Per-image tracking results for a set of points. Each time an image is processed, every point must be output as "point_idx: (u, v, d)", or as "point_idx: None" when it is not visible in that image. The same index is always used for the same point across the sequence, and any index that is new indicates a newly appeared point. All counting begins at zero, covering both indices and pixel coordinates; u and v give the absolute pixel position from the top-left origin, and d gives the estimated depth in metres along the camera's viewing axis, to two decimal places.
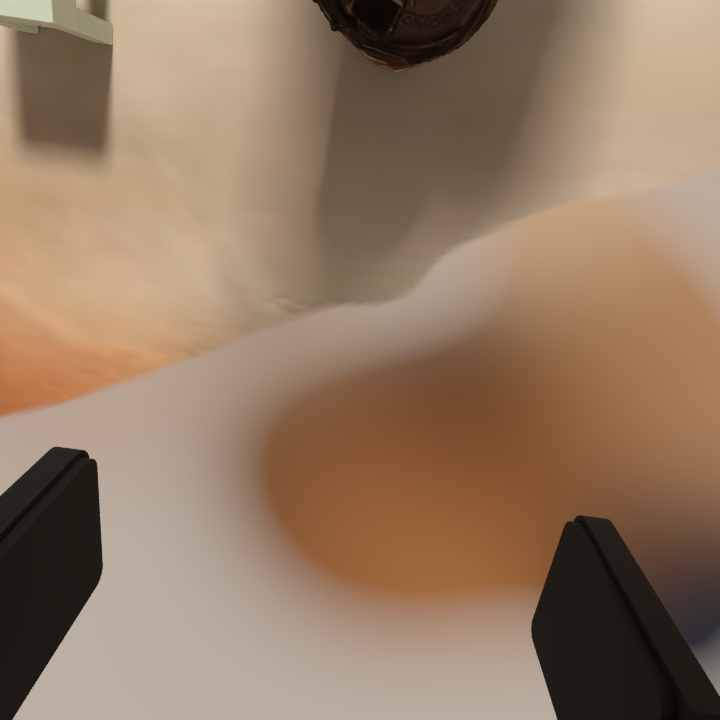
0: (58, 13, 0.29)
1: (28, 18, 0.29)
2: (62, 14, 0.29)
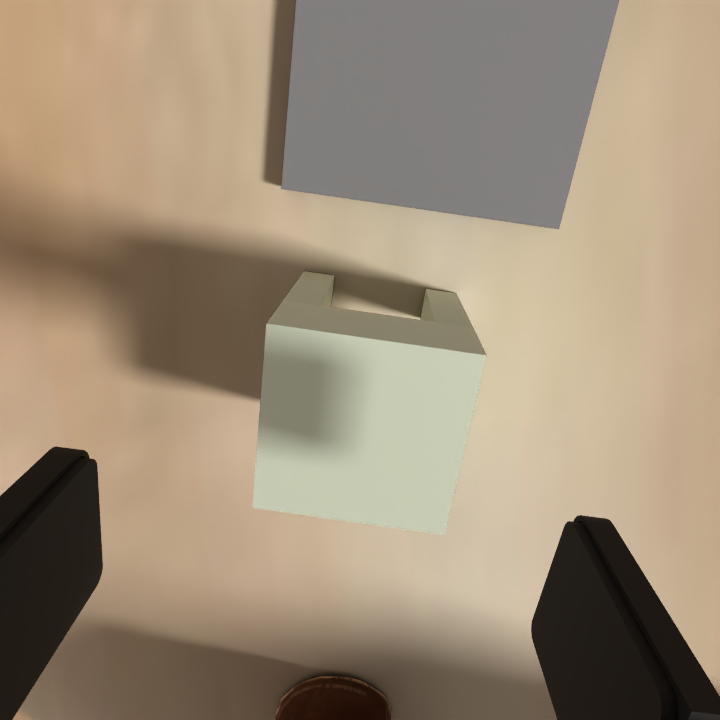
0: None
1: (256, 470, 0.16)
2: None
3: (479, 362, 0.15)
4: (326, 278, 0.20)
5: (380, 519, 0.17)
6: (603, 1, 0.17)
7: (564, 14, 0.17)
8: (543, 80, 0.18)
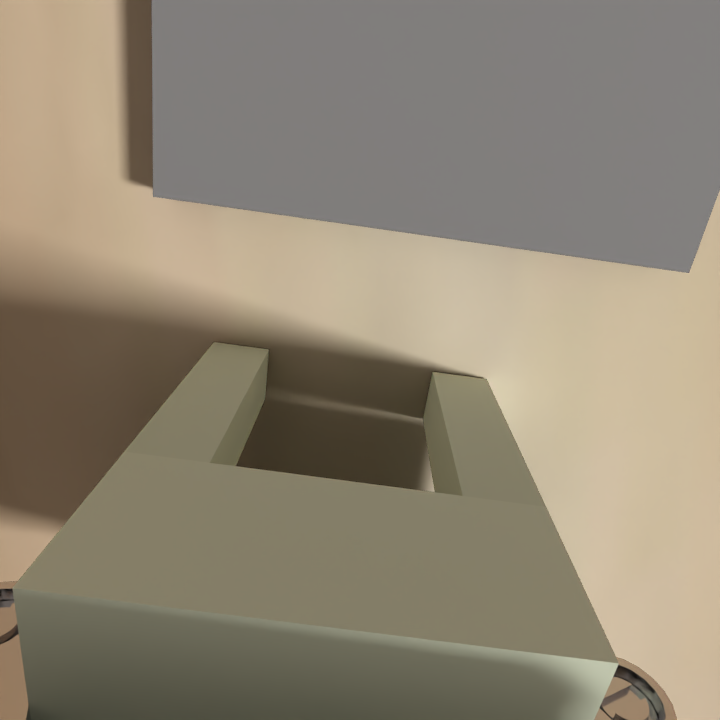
0: None
1: None
2: None
3: (596, 675, 0.06)
4: (251, 359, 0.11)
5: None
6: None
7: None
8: None
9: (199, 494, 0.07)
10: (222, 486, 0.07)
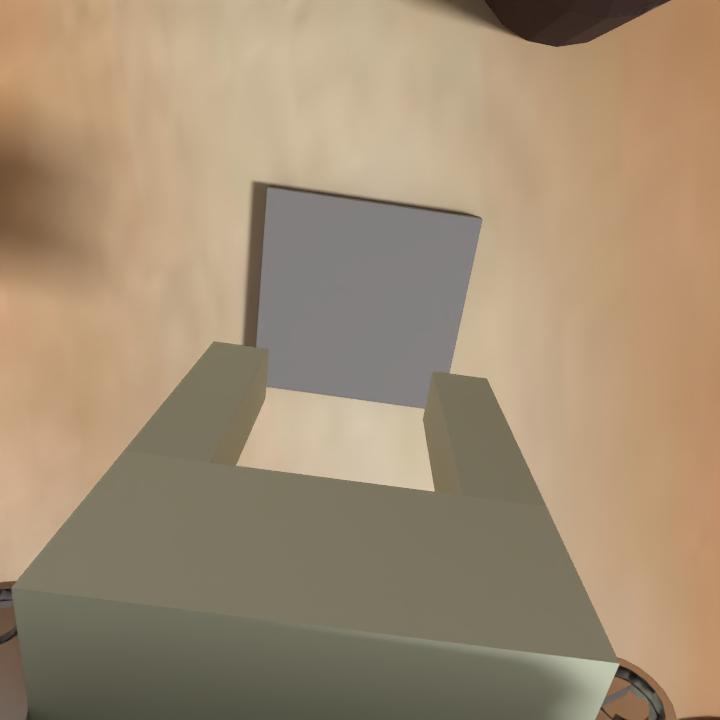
0: None
1: None
2: None
3: (597, 675, 0.05)
4: (251, 358, 0.11)
5: None
6: (459, 282, 0.26)
7: (434, 288, 0.26)
8: (424, 325, 0.27)
9: (199, 493, 0.07)
10: (222, 486, 0.07)
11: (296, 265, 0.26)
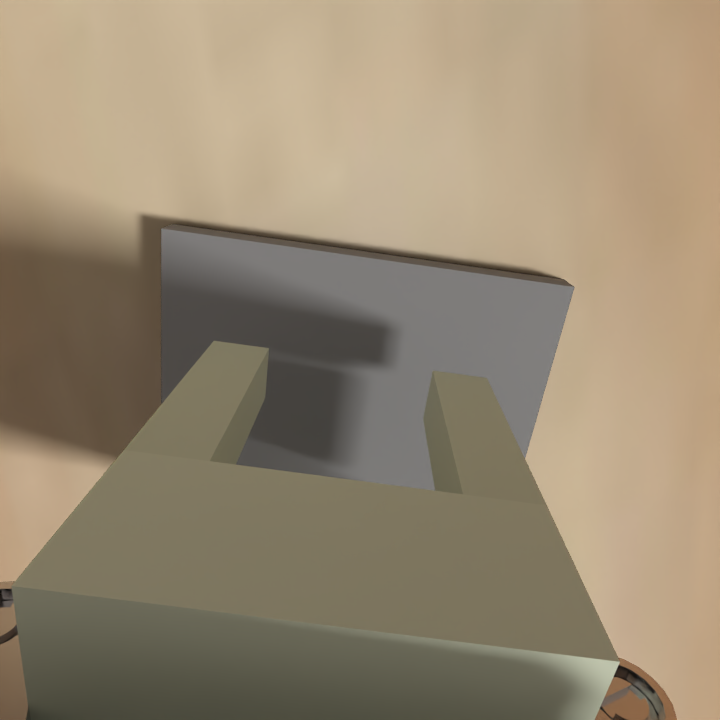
0: None
1: None
2: None
3: (597, 674, 0.05)
4: (251, 358, 0.11)
5: None
6: (524, 398, 0.14)
7: None
8: None
9: (199, 492, 0.07)
10: (222, 484, 0.07)
11: None
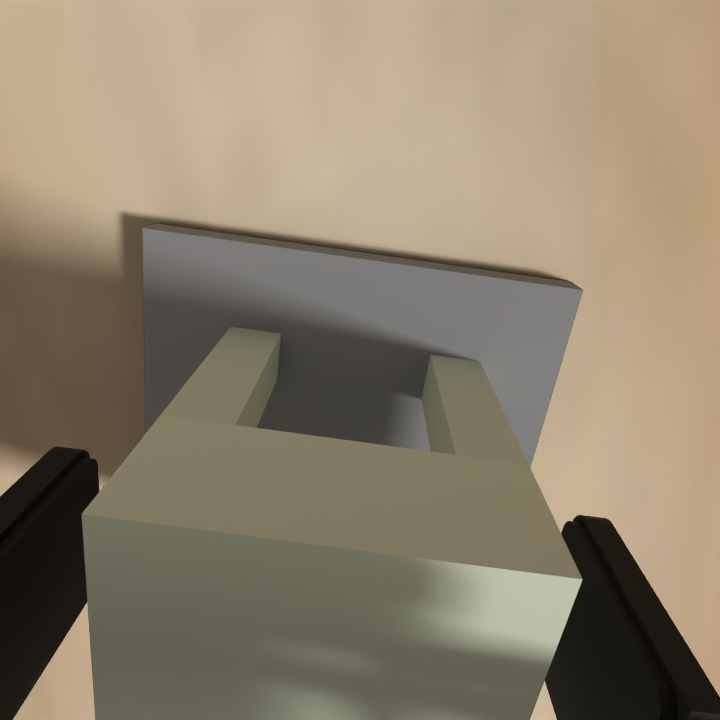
0: None
1: None
2: None
3: (564, 591, 0.07)
4: (265, 342, 0.12)
5: None
6: (529, 407, 0.13)
7: None
8: None
9: (228, 449, 0.08)
10: (247, 443, 0.08)
11: None
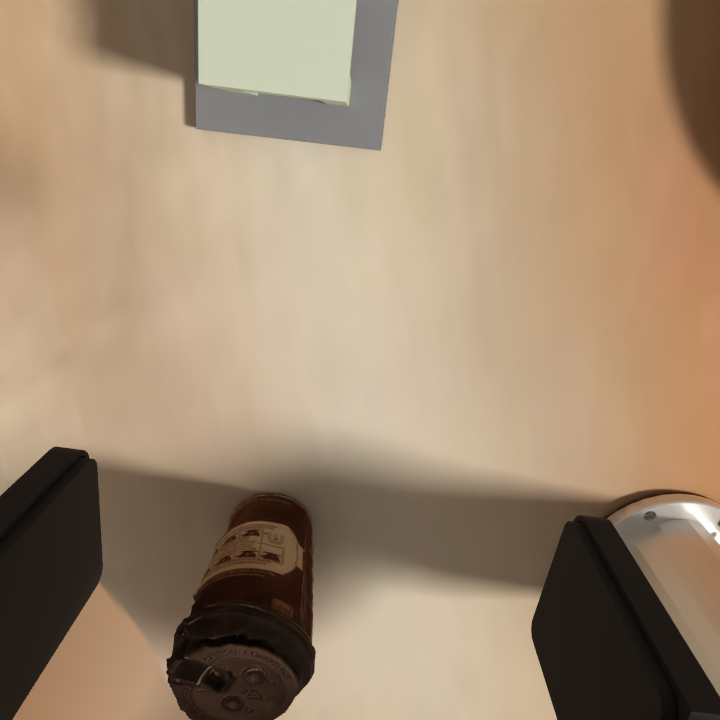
0: (215, 86, 0.23)
1: (199, 46, 0.21)
2: None
3: None
4: None
5: (296, 89, 0.22)
6: None
7: (365, 8, 0.27)
8: (357, 51, 0.28)
9: None
10: None
11: None
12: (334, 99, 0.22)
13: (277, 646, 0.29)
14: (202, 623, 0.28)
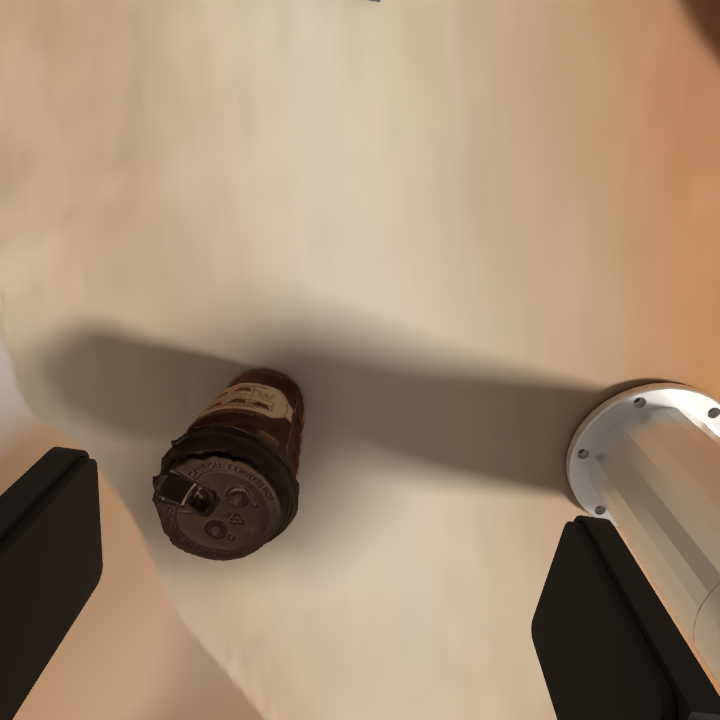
0: None
1: None
2: None
3: None
4: None
5: None
6: None
7: None
8: None
9: None
10: None
11: None
12: None
13: (261, 466, 0.29)
14: (189, 441, 0.29)
